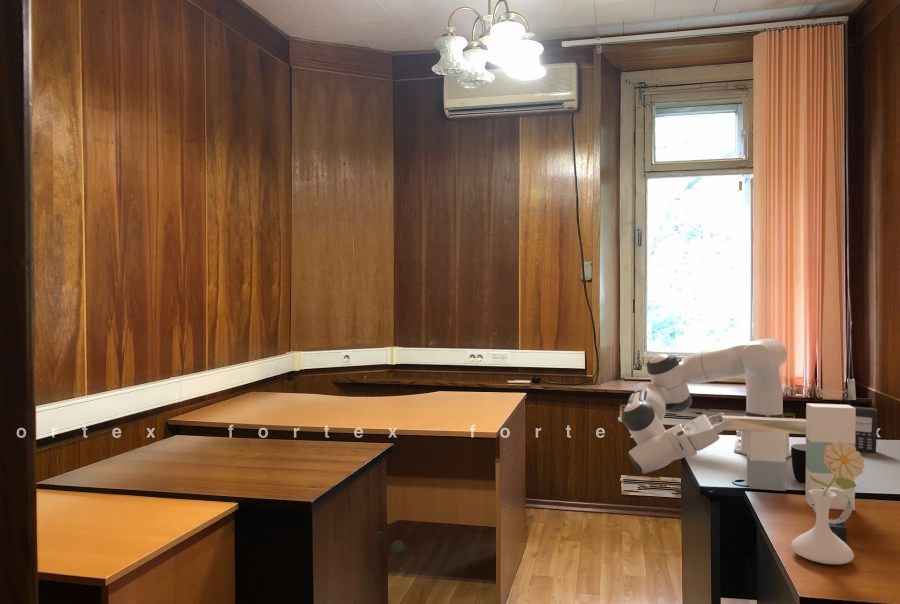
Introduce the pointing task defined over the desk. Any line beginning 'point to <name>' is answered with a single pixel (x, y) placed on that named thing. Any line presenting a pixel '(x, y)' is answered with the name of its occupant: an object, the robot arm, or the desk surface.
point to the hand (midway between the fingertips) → (727, 418)
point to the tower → (820, 432)
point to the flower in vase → (820, 538)
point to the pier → (766, 460)
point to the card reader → (866, 429)
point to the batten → (766, 424)
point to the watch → (837, 524)
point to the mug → (799, 462)
